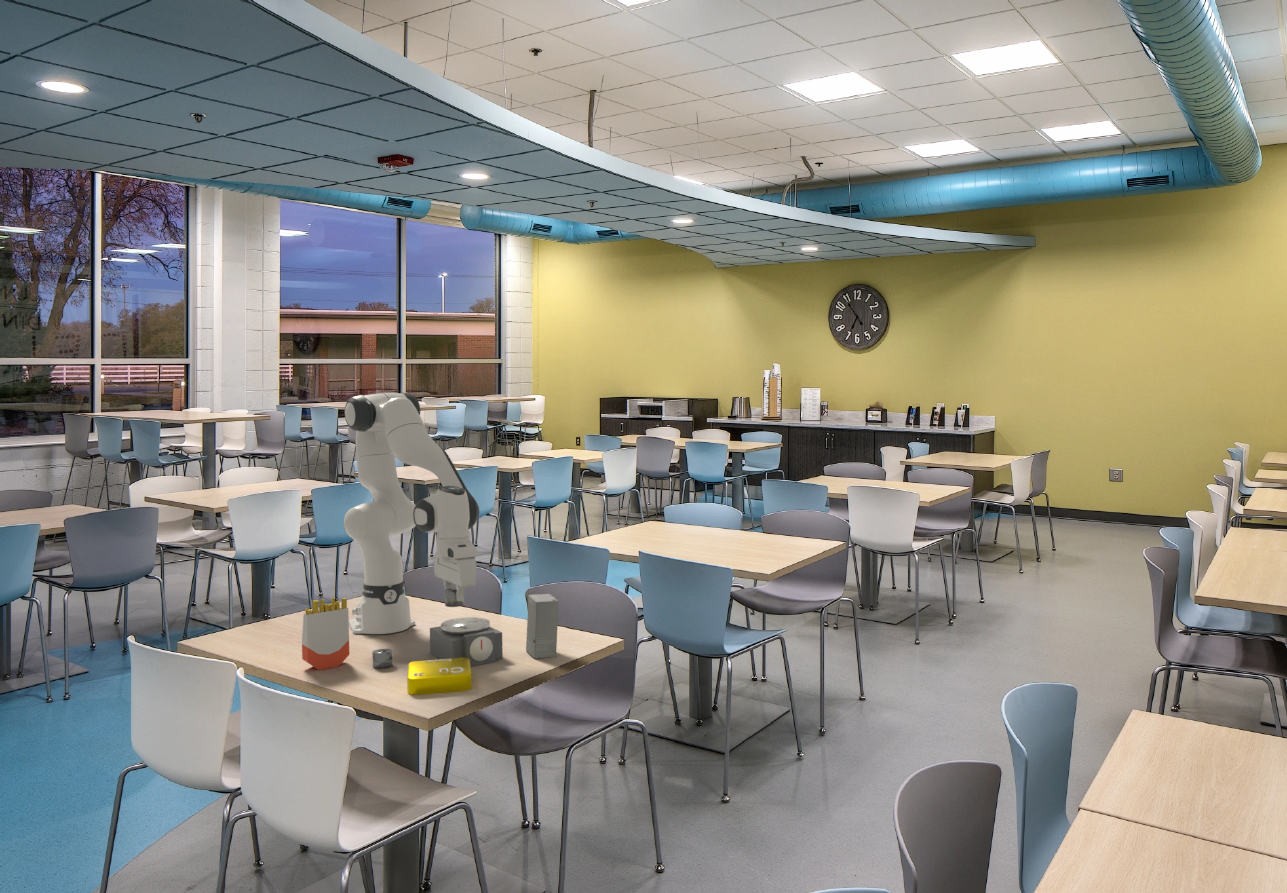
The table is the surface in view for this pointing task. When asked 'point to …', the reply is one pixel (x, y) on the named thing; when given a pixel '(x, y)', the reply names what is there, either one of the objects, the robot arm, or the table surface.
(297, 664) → the table surface
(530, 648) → the skincare box
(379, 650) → the spacer
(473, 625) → the scale pan
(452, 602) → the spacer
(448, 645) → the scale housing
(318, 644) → the french fries container
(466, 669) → the element tile
